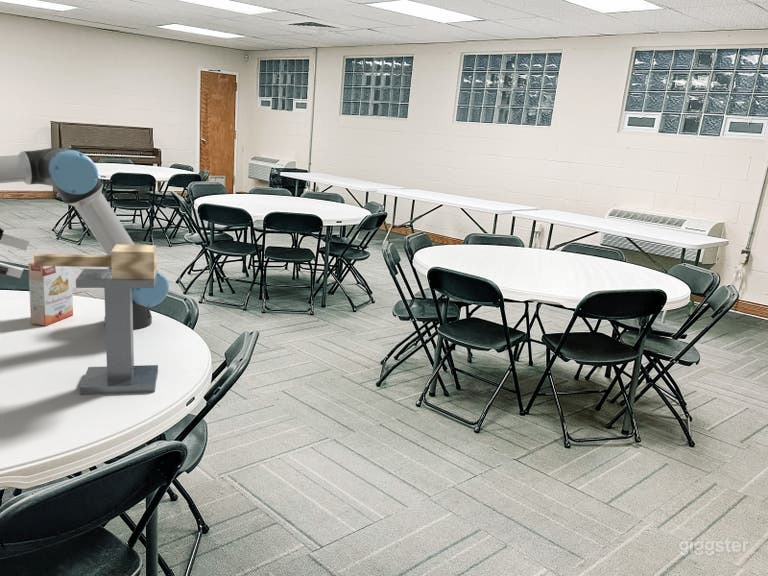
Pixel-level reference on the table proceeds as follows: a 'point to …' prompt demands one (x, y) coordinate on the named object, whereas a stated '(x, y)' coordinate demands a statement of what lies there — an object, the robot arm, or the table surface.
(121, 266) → the mallet
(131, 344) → the stand
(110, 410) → the table surface
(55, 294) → the cracker box
